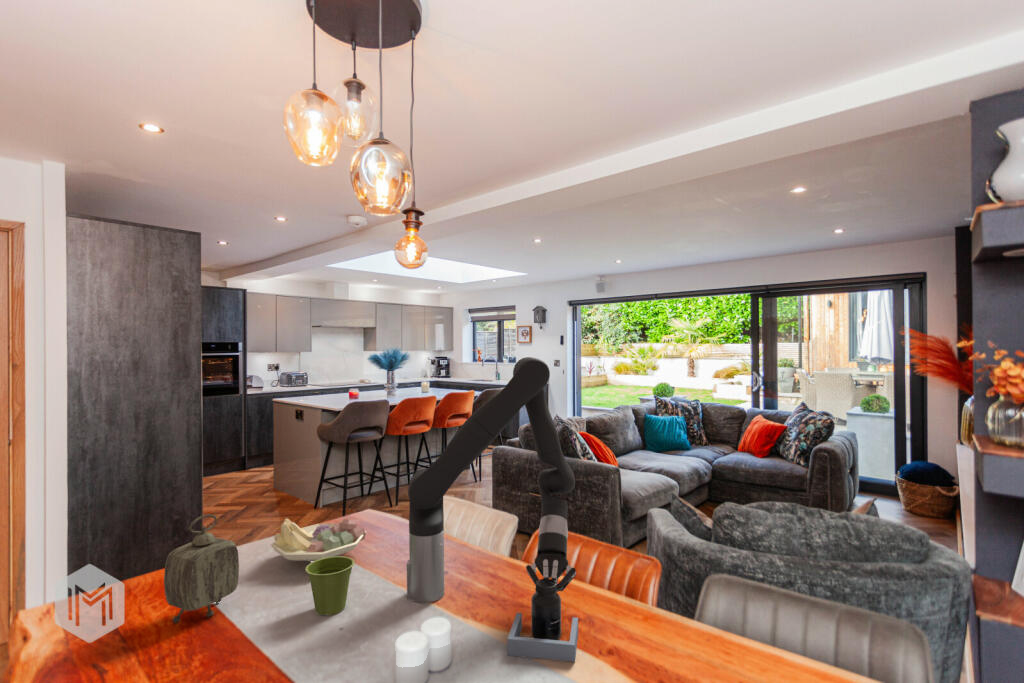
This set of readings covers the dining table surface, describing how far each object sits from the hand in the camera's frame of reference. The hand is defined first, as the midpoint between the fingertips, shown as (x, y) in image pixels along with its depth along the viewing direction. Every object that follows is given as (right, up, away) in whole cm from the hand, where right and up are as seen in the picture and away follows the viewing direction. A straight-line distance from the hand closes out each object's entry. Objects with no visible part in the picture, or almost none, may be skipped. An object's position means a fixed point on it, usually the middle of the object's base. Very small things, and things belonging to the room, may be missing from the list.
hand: (548, 608), depth 121 cm
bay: (-1, -4, -7) cm, 8 cm away
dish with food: (-70, -6, +41) cm, 81 cm away
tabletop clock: (-86, -6, +8) cm, 87 cm away
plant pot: (-55, -6, +10) cm, 56 cm away
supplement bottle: (-1, -4, -4) cm, 6 cm away
